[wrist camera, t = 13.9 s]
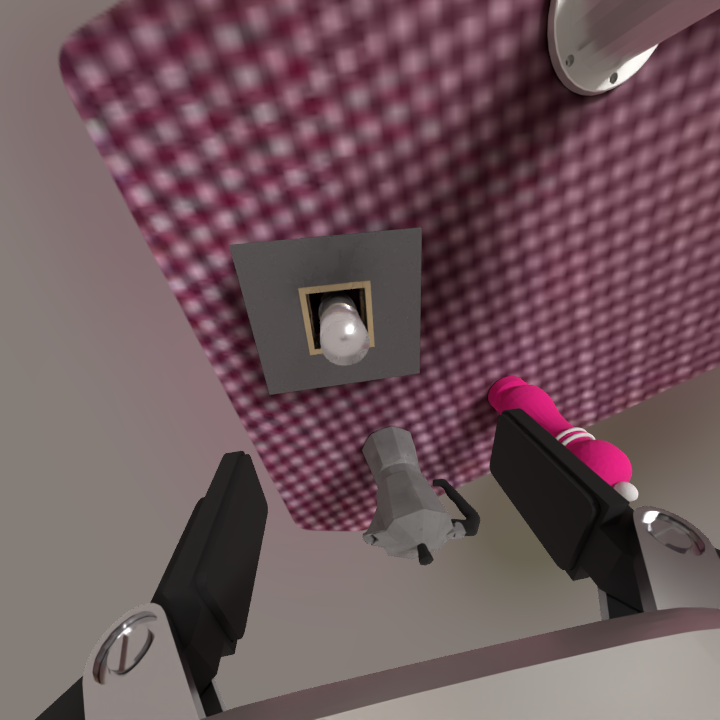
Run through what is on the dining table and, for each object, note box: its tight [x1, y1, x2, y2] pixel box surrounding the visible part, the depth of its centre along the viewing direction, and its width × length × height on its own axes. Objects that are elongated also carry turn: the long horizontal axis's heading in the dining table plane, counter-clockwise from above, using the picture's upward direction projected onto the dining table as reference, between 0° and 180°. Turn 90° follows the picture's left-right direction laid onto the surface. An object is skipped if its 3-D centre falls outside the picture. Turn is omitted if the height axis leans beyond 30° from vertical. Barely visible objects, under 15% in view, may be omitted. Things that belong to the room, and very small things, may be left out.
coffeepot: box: [362, 426, 480, 565], centre depth 37 cm, size 15×9×18 cm, turn 87°
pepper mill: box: [488, 376, 638, 501], centre depth 35 cm, size 7×7×20 cm
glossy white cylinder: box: [319, 290, 370, 366], centre depth 28 cm, size 4×4×14 cm
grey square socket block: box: [229, 227, 422, 395], centre depth 31 cm, size 18×16×7 cm
